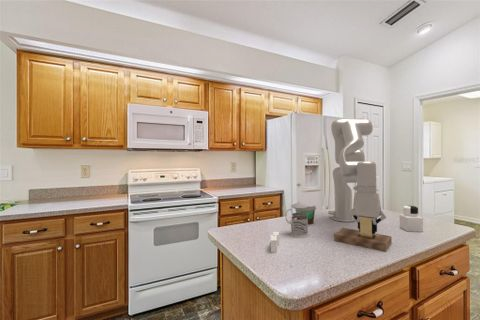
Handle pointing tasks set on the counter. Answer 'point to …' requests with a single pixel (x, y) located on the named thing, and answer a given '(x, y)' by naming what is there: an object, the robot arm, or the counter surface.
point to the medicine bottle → (411, 219)
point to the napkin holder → (274, 242)
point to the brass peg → (366, 227)
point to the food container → (307, 213)
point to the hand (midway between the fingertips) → (367, 231)
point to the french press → (299, 221)
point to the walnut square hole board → (363, 239)
